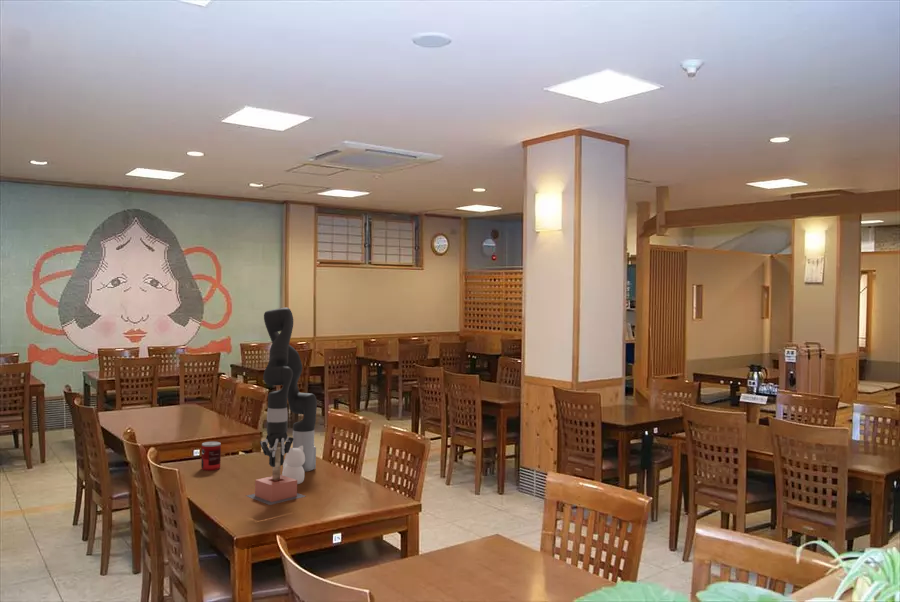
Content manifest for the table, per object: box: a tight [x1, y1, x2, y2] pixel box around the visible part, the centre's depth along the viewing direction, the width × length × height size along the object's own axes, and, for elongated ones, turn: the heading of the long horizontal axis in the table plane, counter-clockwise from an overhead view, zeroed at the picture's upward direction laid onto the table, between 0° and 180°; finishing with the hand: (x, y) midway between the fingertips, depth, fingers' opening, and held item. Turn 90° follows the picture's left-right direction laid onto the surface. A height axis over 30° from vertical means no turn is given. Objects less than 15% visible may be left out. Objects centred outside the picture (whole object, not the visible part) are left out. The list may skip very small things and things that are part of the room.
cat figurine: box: [281, 446, 305, 485], centre depth 281 cm, size 9×12×15 cm
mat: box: [246, 492, 307, 506], centre depth 261 cm, size 16×16×1 cm
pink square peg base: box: [254, 474, 298, 502], centre depth 261 cm, size 11×11×6 cm
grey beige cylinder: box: [271, 442, 281, 480], centre depth 261 cm, size 3×3×14 cm
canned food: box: [200, 441, 222, 472], centre depth 302 cm, size 8×8×11 cm
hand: (276, 465), depth 261 cm, fingers closed on grey beige cylinder, 2 cm apart
